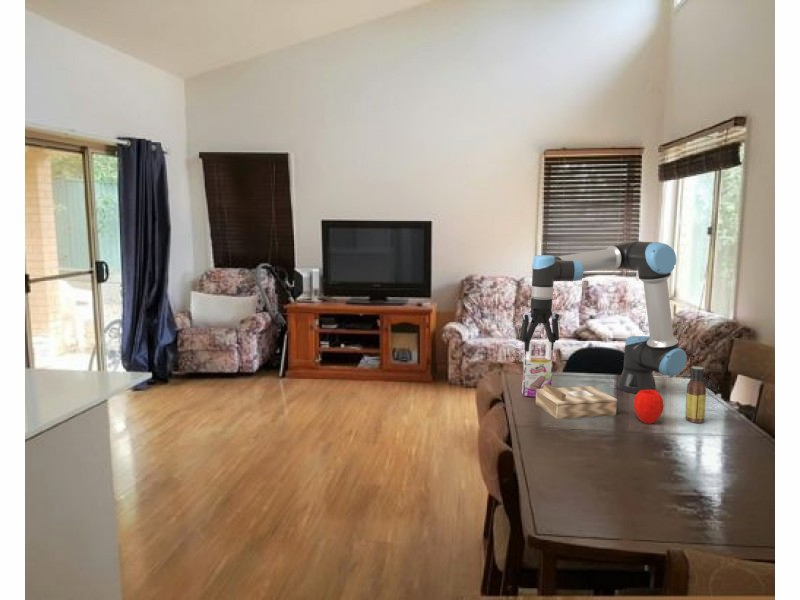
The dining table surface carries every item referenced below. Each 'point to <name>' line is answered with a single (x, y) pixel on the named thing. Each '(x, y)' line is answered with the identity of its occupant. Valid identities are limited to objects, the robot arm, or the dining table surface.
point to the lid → (575, 395)
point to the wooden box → (575, 408)
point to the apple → (648, 405)
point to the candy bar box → (536, 374)
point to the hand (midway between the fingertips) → (538, 359)
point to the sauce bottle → (696, 396)
